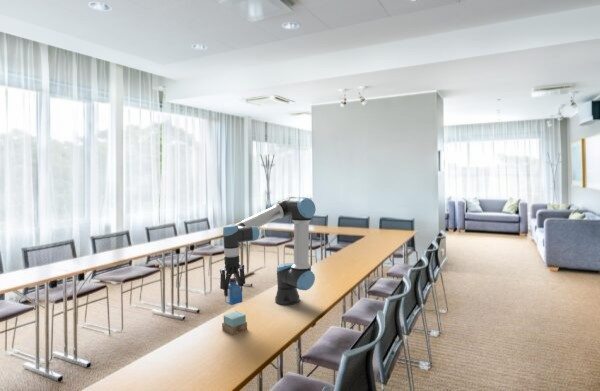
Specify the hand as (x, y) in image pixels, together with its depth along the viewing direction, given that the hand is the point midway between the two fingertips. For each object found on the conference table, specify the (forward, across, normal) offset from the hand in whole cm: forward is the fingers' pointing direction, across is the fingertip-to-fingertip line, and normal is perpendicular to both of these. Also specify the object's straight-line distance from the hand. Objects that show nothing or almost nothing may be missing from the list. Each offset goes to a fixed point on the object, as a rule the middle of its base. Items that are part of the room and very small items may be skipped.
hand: (233, 300), depth 187 cm
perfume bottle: (+1, 0, 0) cm, 1 cm away
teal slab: (+12, 0, 0) cm, 12 cm away
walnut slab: (+16, 0, 0) cm, 16 cm away
